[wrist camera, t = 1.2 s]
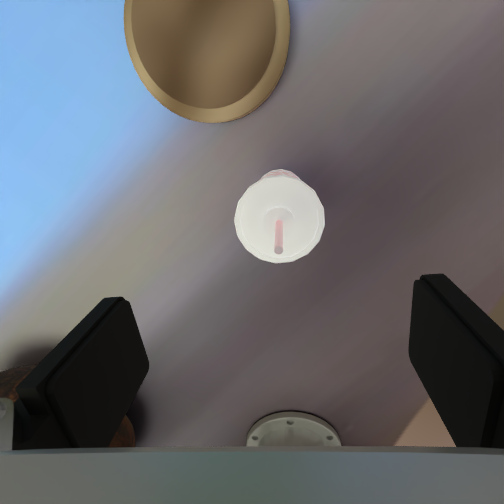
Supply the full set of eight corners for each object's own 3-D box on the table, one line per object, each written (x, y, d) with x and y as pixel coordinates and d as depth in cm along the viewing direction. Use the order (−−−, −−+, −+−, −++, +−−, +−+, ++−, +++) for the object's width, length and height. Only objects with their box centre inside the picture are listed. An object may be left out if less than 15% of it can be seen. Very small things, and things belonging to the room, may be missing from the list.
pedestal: (316, -11, 23) (323, -36, 19) (253, 145, 28) (248, 148, 24) (165, -88, 22) (142, -130, 19) (125, 87, 27) (101, 81, 23)
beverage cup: (308, 227, 30) (329, 304, 17) (246, 223, 31) (221, 296, 18) (316, 162, 28) (346, 196, 15) (248, 158, 28) (221, 188, 15)
